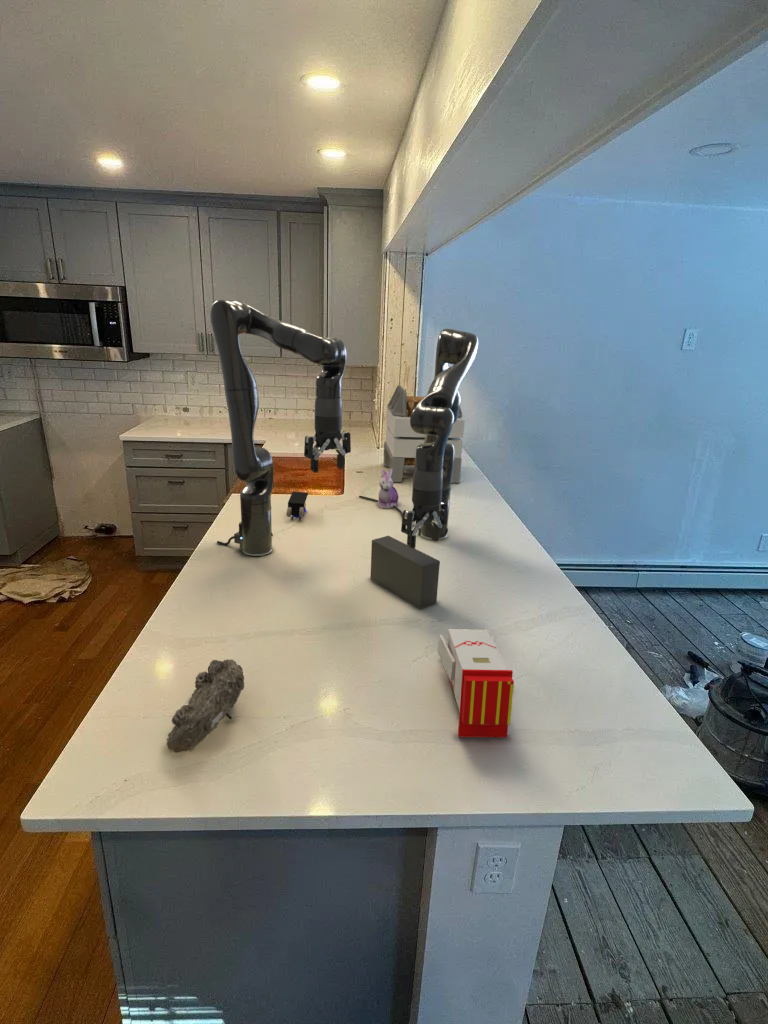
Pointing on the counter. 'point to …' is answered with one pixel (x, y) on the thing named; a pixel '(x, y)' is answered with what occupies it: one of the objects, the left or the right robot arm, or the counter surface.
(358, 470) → the counter surface
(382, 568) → the box
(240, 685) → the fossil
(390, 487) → the figurine
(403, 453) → the transformer
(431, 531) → the right robot arm
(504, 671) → the toy
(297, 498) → the figurine character
